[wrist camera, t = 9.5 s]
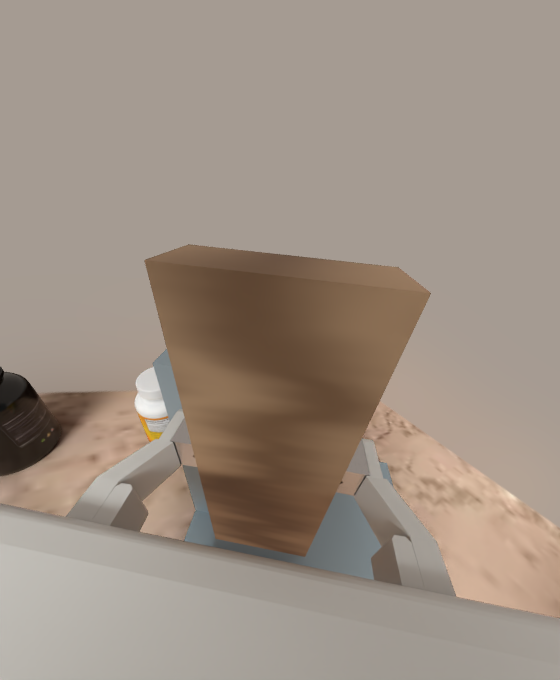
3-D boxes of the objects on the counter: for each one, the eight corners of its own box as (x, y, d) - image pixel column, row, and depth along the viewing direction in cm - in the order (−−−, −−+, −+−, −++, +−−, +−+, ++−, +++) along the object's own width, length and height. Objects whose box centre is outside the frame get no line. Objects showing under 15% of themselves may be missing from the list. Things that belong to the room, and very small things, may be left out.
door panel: (215, 538, 15) (144, 259, 5) (230, 486, 17) (205, 238, 7) (305, 557, 14) (431, 292, 4) (306, 500, 17) (386, 257, 7)
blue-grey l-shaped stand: (162, 613, 16) (10, 507, 6) (225, 441, 28) (214, 300, 17) (434, 675, 15) (887, 690, 5) (382, 469, 27) (474, 337, 16)
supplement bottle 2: (157, 415, 30) (139, 361, 25) (198, 413, 31) (188, 360, 26) (142, 453, 26) (116, 397, 20) (190, 450, 27) (177, 395, 21)
